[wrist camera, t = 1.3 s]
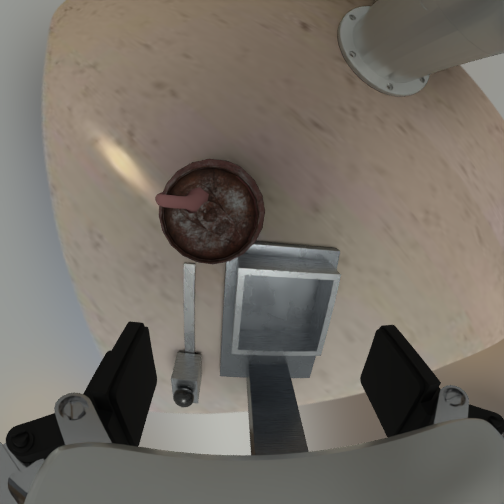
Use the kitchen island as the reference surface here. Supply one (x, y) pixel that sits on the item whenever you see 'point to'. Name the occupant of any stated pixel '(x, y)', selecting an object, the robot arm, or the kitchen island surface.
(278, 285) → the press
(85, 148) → the kitchen island surface
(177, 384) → the lever
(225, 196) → the red can
